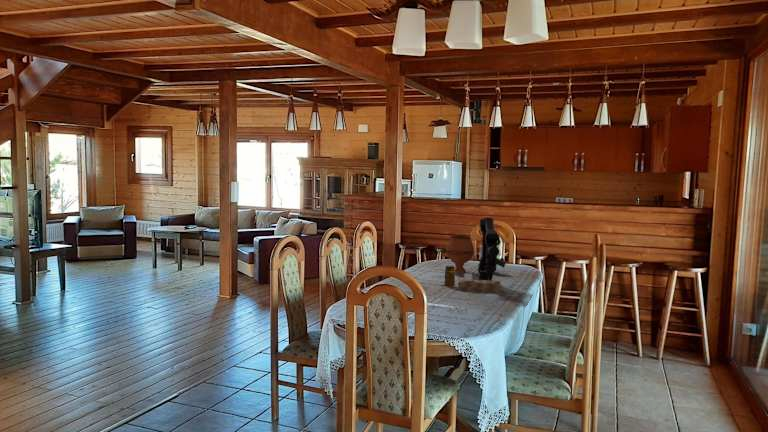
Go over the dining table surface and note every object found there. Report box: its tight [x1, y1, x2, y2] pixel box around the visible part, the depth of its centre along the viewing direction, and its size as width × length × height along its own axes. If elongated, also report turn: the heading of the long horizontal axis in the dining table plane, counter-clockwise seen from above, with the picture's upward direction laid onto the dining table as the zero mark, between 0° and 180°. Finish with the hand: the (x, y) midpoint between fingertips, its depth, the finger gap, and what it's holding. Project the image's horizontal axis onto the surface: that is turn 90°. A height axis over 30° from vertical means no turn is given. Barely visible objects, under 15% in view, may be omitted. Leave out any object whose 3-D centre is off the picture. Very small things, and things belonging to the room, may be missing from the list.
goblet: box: [445, 234, 475, 274], centre depth 395 cm, size 19×19×25 cm
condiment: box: [439, 265, 456, 288], centre depth 348 cm, size 7×8×12 cm
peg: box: [463, 272, 473, 282], centre depth 339 cm, size 4×4×4 cm
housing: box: [457, 278, 501, 293], centre depth 338 cm, size 24×9×5 cm, turn 79°
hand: (490, 280), depth 337 cm, fingers closed
